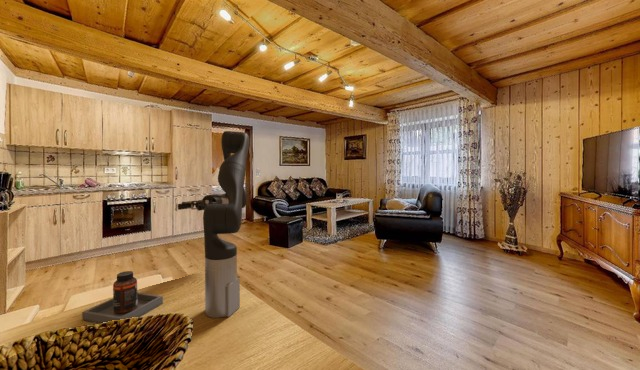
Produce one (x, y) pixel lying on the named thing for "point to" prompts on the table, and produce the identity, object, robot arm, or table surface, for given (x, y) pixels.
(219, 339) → the table surface
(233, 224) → the robot arm
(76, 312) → the table surface
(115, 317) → the tray
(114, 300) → the supplement bottle
